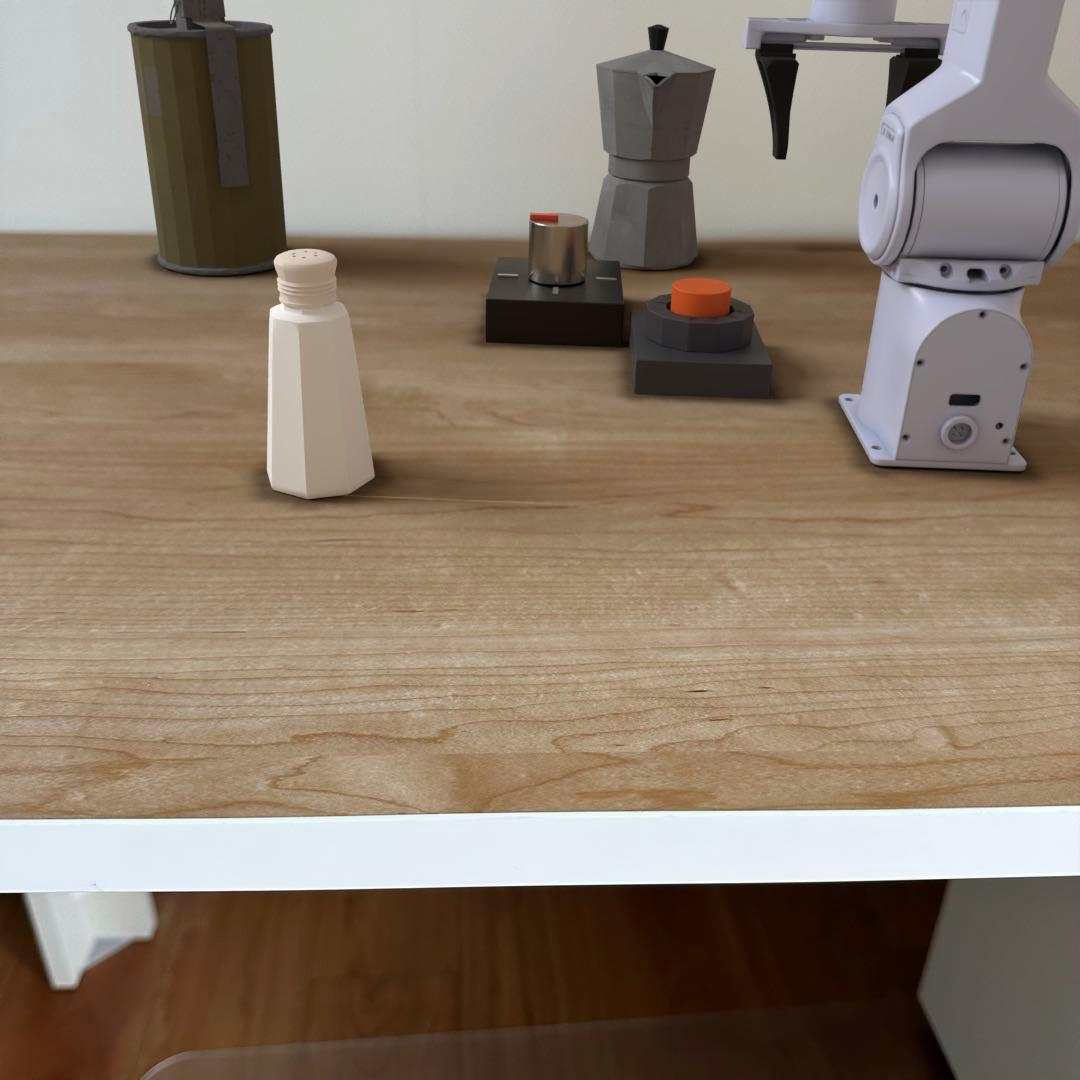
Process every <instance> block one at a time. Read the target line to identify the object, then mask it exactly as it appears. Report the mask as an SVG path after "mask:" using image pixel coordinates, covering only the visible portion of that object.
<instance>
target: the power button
mask: <svg viewBox="0 0 1080 1080" xmlns="http://www.w3.org/2000/svg"><path fill="white" fill-rule="evenodd" d="M671 285H672V287H671V288H672V289H671V294H672V297H671V309H670V311H672V312H674V313H676V314H681V315H686V316H691V317H706V318H714V317H721V316H728V315H729V309H730V300H731V298H732V289H733V288H732V286H731V285H730V284H729V283H727V282H725V281H722V280H718V279H715V278H706V277H686V278H681V279H677V280H675V281H674V282H673V283H672V284H671Z"/></svg>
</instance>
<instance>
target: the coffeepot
mask: <svg viewBox="0 0 1080 1080" xmlns="http://www.w3.org/2000/svg"><path fill="white" fill-rule="evenodd" d="M647 32H648V44H649V49H647V50H644V51H640V52H635V53H632V54H628V55H625V56H621V57H617V58H614V59H610V60H606V61H603V62H600V63H596V64H595V69H596V78H597V79H596V80H597V89H598V90H597V91H598V92H597V93H598V101H599V102H598V103H599V115H600V125H601V137H602V148H603V150H604V152H605V153H607V154H608V164H607V172H608V173H607V174H606V175H605V177H604V178H603V180H602V184H601V189H600V193H599V197H598V202H597V207H596V212H595V217H594V221H593V226H592V231H591V235H590V240H589V245H588V248H587V252H589V254H590V255H591V257H593V259H594V260H605V261H620V268H622V269H630V270H640V271H641V270H643V271H662V270H672V269H673V270H674V269H678V268H683V267H686V266H688V265H690V264H692V263H693V262H694V259H695V258H696V257H698V256H699V250H698V237H697V226H696V225H697V223H696V211H695V199H694V198H695V197H694V183H693V181H692V180H691V178H690V177H689V176H690V170H691V169H690V167H691V158H693V157H694V156H695V155H696V154H698V149H699V145H700V140H701V135H702V131H703V127H704V122H705V119H706V114H707V110H708V105H709V101H710V97H711V92H712V87H713V83H714V79H715V76H716V75H715V74H716V72H717V69H716V67H713V66H710V65H707V64H704V63H702V62H699V61H696V60H693V59H690V58H687V57H685V56H682V55H679V54H676V53H673V52H670V51H668V50H665V47H666V43H667V39H668V35H669V32H670V27H668V26H666V25H663V24H659V23H658V24H656V23H655V24H654V25H650V26H648V27H647Z"/></svg>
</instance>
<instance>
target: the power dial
mask: <svg viewBox="0 0 1080 1080" xmlns="http://www.w3.org/2000/svg"><path fill="white" fill-rule="evenodd" d="M528 225H529V226H528V257H527V258H528V277H529V279H530V280H532V281H534V282H537V283H540V284H546V285H558V286H562V285H574V284H578V283H581V282H583V281H585V279H586V265H587V260H588V242H589V219H588V218H587V217H585V216H582V215H578V214H573V213H567V212H566V213H563V212H547V213H543V212H530V213H529V222H528Z"/></svg>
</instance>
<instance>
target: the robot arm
mask: <svg viewBox="0 0 1080 1080" xmlns="http://www.w3.org/2000/svg"><path fill="white" fill-rule="evenodd" d="M1065 2H1066V0H953V6H952V10H951V15H950V19H949V20H950V21H949V23H935V22H917V21H900V20H899V21H897V20H895V18H896V11H897V5H898V0H811V4H810V5H811V7H810V14H809V17H751V16H747V17H744V21H743V22H744V23H743V31H742V33H743V34H742V44H741V47H742V48H743V49H745V50H755V51H754V57H755V61H756V65H757V68H758V71H759V74H760V77H761V81H762V85H763V88H764V92H765V97H766V102H767V106H768V112H769V118H770V125H771V126H770V127H771V136H772V137H771V138H772V155H771V156H772V157H773V158H774V159H775V160H779V161H786V160H787V155H788V149H789V140H790V139H789V138H790V125H791V110H792V105H793V98H794V93H795V87H796V81H797V77H798V72H799V66H800V63H799V61H798V60H797V53H796V52H795V53H794V51H795V50H796V51H797V50H799V51H823V52H824V51H827V52H855V53H856V52H857V53H858V52H859V53H886V54H887V53H888V54H889V53H890V54H895V55H893V56H891V58H889V62H888V79H887V90H886V100H885V109H884V113H883V115H882V117H881V118H880V121H879V125H878V129H877V135H876V138H875V142H874V145H873V150H872V152H871V154H870V156H869V158H868V160H867V162H866V165H865V168H864V171H863V175H862V178H861V183H860V187H859V188H860V189H859V194H858V203H857V232H858V240H859V243H860V247H861V248H862V250H863V252H864V253H865V254H866V256H867V258H868V259H869V261H870V262H871V263H872V264H873V265H875V266H878V267H879V268H880V269H882V270H881V274H880V281H879V287H878V291H877V298H876V302H875V303H876V304H875V308H874V309H875V310H874V316H873V321H872V326H871V327H872V328H871V333H870V339H869V345H868V351H867V357H866V363H865V368H864V373H863V379H862V386H861V392H860V394H859V393H842V394H840V395H839V396H838V404H839V405H840V407H841V409H842V411H843V413H844V415H845V416H846V418H847V421H848V422H849V424H850V426H851V428H852V429H853V431H854V434H855V436H856V437H857V439H858V440H859V443H860V444H861V446H862V448H863V449H864V452H865V454H866V456H867V457H868V459H869V461H870V463H871V464H873V465H875V466H880V467H897V468H898V467H900V468H923V469H925V468H926V469H946V470H947V469H948V470H972V471H973V470H974V471H976V470H977V471H997V472H998V471H999V472H1023V471H1025V470H1026V468H1027V463H1028V462H1027V461H1026V460H1025V459H1024V457H1023V456H1022V455H1021V454H1020V452H1019V451H1018V450H1017V448H1015V447H1014V442H1015V436H1016V435H1017V434H1016V433H1017V430H1018V425H1019V421H1020V417H1021V413H1022V409H1023V405H1024V400H1025V397H1026V392H1027V388H1028V384H1029V381H1030V377H1031V372H1032V368H1033V362H1034V348H1033V342H1032V339H1031V336H1030V334H1029V331H1028V330H1027V327H1026V326H1025V325H1024V324H1025V323H1023V320H1022V316H1021V308H1022V304H1023V299H1024V295H1025V291H1026V286H1039V285H1041V280H1042V276H1043V271H1044V270H1047V269H1050V268H1052V267H1053V266H1055V265H1056V264H1058V263H1059V262H1060V261H1061V259H1062V258H1063V257H1064V255H1065V254H1066V253H1067V252H1068V251H1069V249H1071V247H1072V246H1073V244H1074V242H1075V241H1076V240H1075V239H1076V238H1077V237H1078V234H1079V231H1080V107H1079V106H1078V105H1077V103H1075V101H1073V99H1071V97H1070V96H1069V95H1067V94H1066V93H1065V92H1064V91H1063V89H1061V87H1060V86H1059V85H1057V83H1056V82H1055V81H1054V80H1053V78H1051V76H1050V74H1049V73H1048V71H1049V69H1050V68H1049V67H1050V64H1051V60H1052V55H1053V51H1054V47H1055V44H1056V40H1057V35H1058V32H1059V27H1060V23H1061V17H1062V16H1063V11H1064V6H1065ZM825 37H841V38H861V39H862V38H863V39H864V38H865V39H870V38H871V39H872V40H873V41H876V42H878V43H857V42H827V41H826V42H825ZM940 56H942V59H941V58H939V57H940Z"/></svg>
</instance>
